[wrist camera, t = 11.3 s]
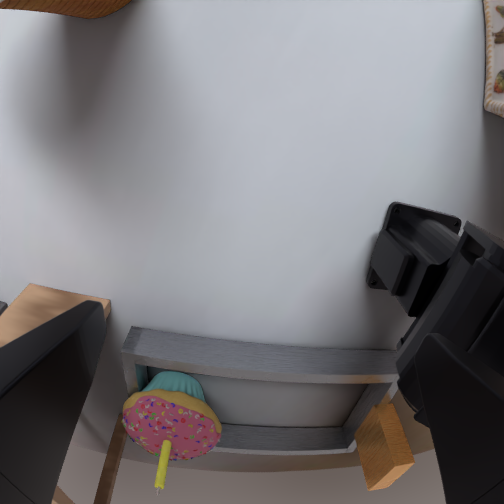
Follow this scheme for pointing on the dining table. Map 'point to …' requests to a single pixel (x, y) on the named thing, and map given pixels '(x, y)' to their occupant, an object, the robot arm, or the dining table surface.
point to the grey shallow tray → (289, 370)
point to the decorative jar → (494, 56)
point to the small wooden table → (34, 314)
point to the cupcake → (171, 420)
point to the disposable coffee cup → (67, 6)
